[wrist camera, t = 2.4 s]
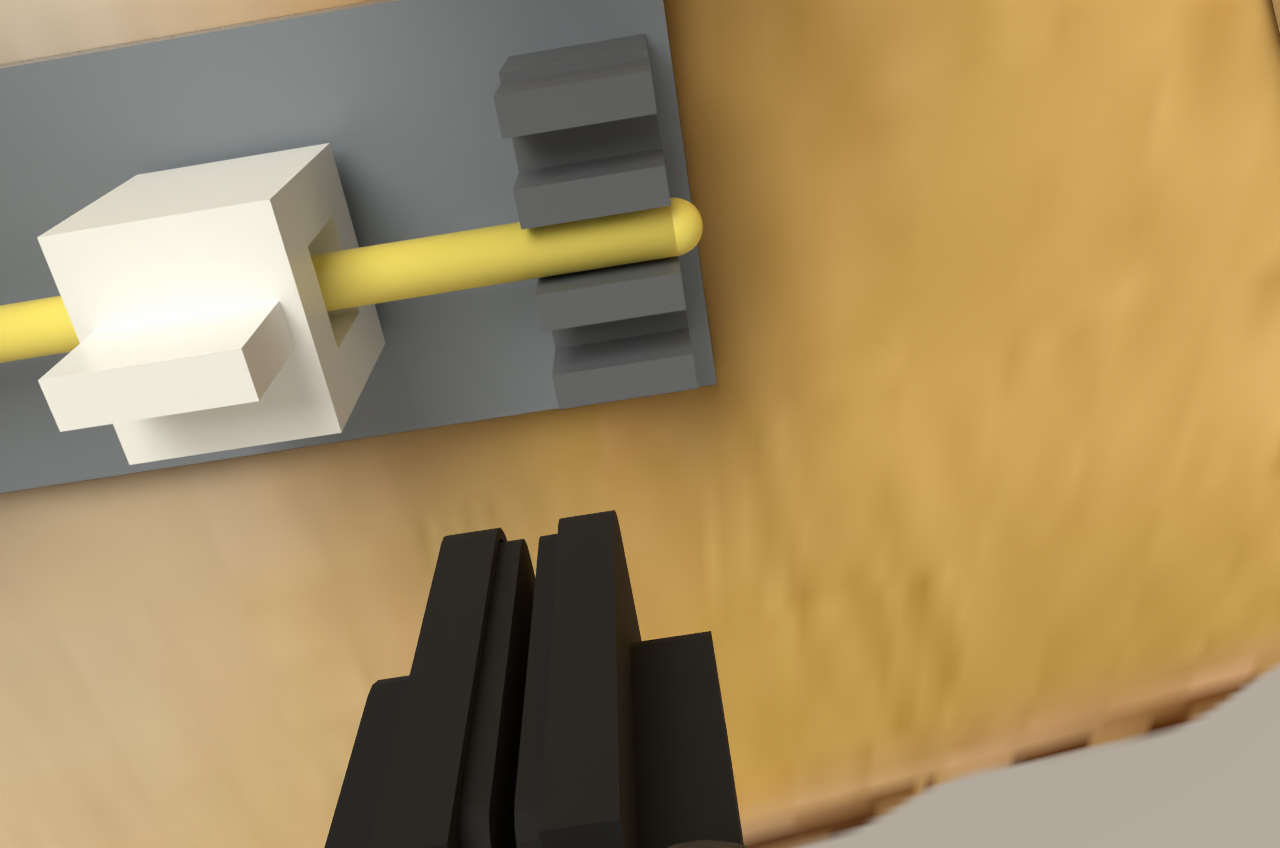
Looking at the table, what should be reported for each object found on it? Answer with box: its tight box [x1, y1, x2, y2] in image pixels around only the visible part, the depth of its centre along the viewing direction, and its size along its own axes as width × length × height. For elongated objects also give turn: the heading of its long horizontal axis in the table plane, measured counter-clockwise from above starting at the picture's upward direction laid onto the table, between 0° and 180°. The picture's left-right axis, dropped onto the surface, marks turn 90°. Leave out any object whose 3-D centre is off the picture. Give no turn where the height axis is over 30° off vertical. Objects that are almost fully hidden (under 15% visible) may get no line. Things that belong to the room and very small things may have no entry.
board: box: [0, 0, 717, 493], centre depth 25 cm, size 26×10×5 cm, turn 99°
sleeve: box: [37, 143, 385, 465], centre depth 23 cm, size 4×5×7 cm
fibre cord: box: [0, 197, 703, 363], centre depth 24 cm, size 23×1×1 cm, turn 99°
